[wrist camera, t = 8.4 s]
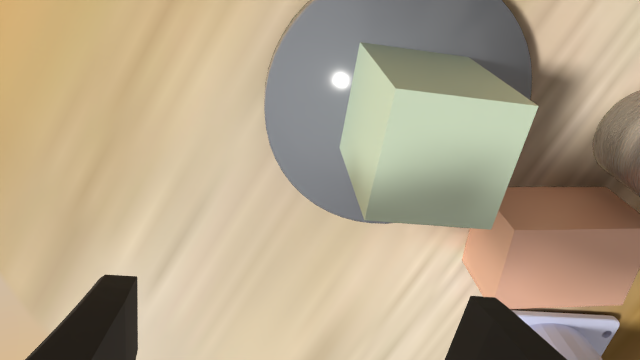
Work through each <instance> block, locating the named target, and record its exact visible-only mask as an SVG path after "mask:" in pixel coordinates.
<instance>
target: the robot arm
mask: <svg viewBox="0 0 640 360" xmlns="http://www.w3.org/2000/svg"><path fill="white" fill-rule="evenodd" d="M619 325H620V323H619V321H618V320H617V319H616V318H615V317H614V316H609V315H590V314H571V313H553V312H534V311H515V310H510V309H509V308H508V307H507V306H506V305H504V304H503V303H502V302H501V301H499V300H498V299H497V298H495V297H479V296H470V299H469V301H468V304H467V306H466V309H465V311H464V314H463V316H462V319H461V321H460V323H459V326H458V328H457V331H456V333H455V336H454V338H453V341H452V343H451V346H450V348H449V351H448V353H447V356H446V358H445V360H603V359H602V358H601V356H602V354H603V352H604V351H605V349H606V347H607V346H608V344H609V342H610V341H611V339H612V338H613V336H614V334H615V333H616V331H617V329H618V328H619ZM137 350H138V331H137V277H135V276H118V275H104V276H103V277H101V278H100V279H99V280H98V281H97V282H96V284H95V285H94V286H93V287H92V288H91V290H90V291H89V292H88V293H87V294H86V295H85V297H84V298H83V299H82V300H81V301H80V302H79V303H78V305H77V306H76V307H75V308H74V309H73V310H72V311H71V312H70V313H69V315H68V316H67V317H66V318H65V319H64V320H63V321H62V322H61V323H60V324H59V325H58V326H57V328H56V329H55V330H54V331H53V332H52V333H51V334H50V335H49V336H48V337H47V338H46V339H45V340H44V341H43V342H42V343H41V344H40V345H39V346H38V347H37V348H36V349H35V350H34V351H33V352H32V353H31V354H30V355H29V356H28V357H27V358H26V359H25V360H136V355H137Z"/></svg>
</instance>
